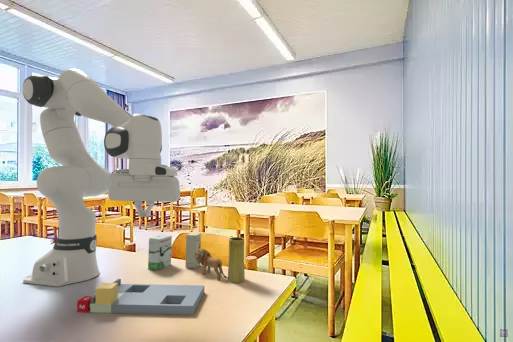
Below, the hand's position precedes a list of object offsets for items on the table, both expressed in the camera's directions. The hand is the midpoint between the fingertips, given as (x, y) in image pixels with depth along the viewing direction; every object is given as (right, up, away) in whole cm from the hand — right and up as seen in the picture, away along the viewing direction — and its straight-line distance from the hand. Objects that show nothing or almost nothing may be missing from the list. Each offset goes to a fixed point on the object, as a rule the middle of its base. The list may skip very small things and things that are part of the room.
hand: (144, 216), depth 83 cm
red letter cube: (-12, -24, -7) cm, 28 cm away
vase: (+26, -25, +15) cm, 39 cm away
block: (-7, -21, -7) cm, 24 cm away
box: (+8, -25, +30) cm, 40 cm away
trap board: (+3, -24, -2) cm, 24 cm away
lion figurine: (+16, -25, +20) cm, 35 cm away
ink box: (-5, -25, +29) cm, 39 cm away
